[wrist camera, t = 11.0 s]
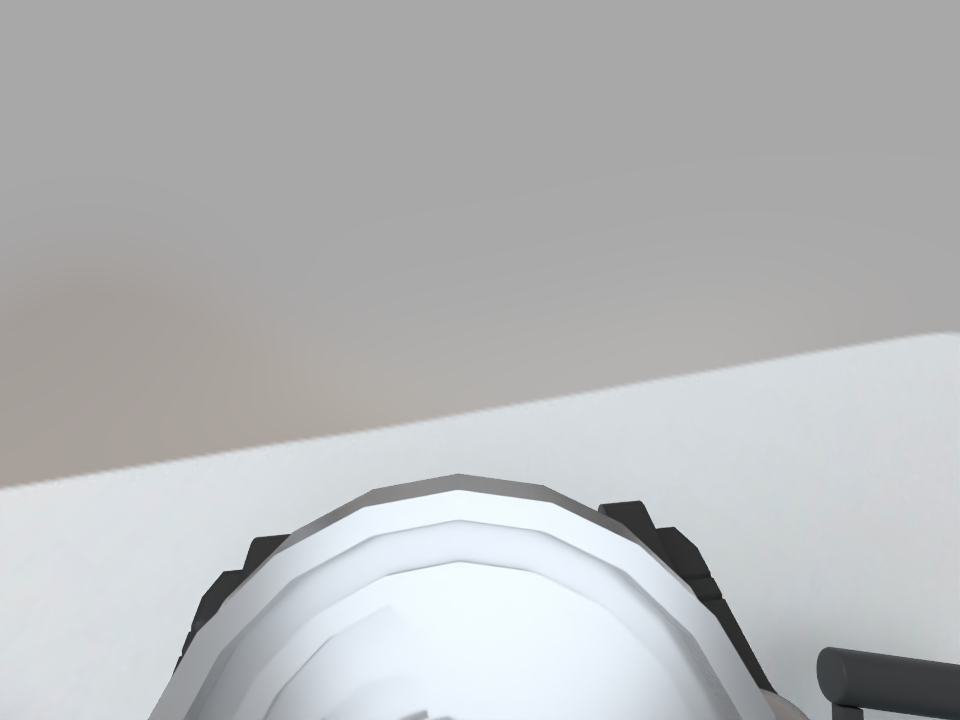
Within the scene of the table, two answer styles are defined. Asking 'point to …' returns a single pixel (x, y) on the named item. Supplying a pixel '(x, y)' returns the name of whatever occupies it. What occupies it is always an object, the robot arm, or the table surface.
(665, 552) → the robot arm
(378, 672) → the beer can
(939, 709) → the drawer
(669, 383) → the table surface
